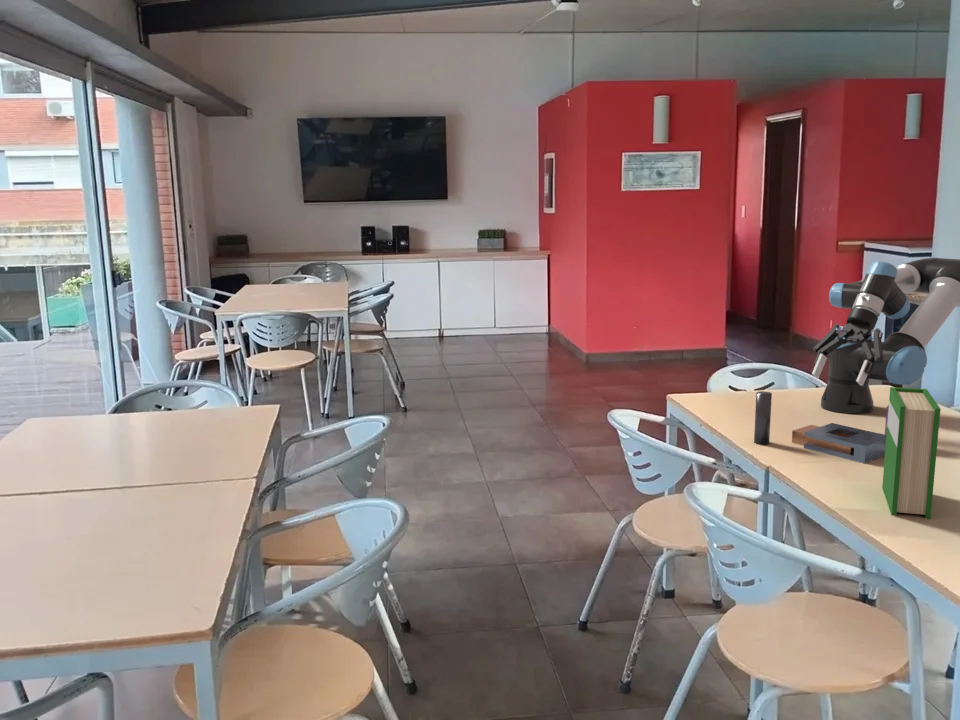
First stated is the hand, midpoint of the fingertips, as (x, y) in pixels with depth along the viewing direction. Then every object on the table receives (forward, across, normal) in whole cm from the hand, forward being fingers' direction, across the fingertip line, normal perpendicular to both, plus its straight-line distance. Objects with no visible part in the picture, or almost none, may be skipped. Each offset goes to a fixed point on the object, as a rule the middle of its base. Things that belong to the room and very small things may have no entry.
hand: (836, 379), depth 236 cm
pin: (+26, -7, -10) cm, 28 cm away
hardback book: (+33, +40, -19) cm, 55 cm away
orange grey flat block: (+19, +9, 0) cm, 21 cm away
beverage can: (+11, +17, +12) cm, 24 cm away
